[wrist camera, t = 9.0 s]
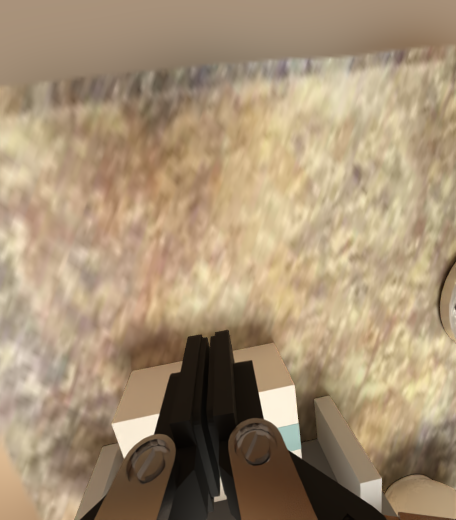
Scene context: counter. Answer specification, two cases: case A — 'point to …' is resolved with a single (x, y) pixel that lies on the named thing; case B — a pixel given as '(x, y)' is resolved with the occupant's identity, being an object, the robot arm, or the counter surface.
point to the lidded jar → (422, 497)
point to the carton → (156, 378)
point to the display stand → (313, 452)
